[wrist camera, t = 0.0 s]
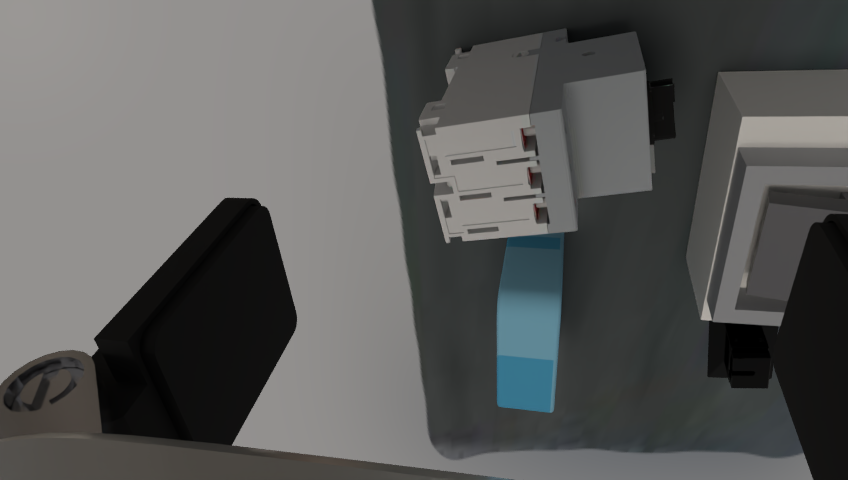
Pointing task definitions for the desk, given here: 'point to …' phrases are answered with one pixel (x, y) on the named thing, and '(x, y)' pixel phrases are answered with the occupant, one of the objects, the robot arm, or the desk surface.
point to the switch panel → (761, 176)
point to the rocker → (785, 240)
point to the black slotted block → (741, 353)
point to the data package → (529, 321)
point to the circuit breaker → (541, 132)
